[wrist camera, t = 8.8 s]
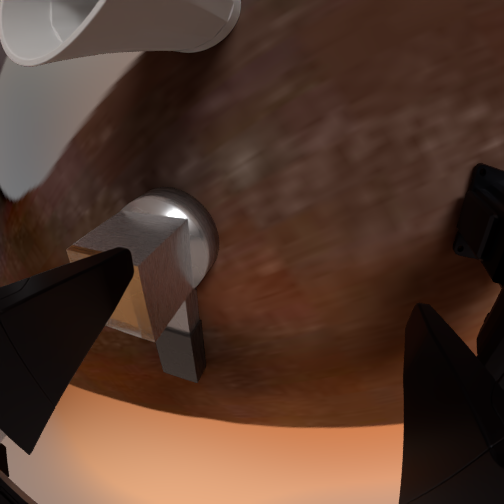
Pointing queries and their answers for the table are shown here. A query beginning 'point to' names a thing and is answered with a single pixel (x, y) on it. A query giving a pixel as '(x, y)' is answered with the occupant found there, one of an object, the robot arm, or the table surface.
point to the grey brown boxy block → (145, 268)
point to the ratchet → (202, 257)
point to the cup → (110, 27)
